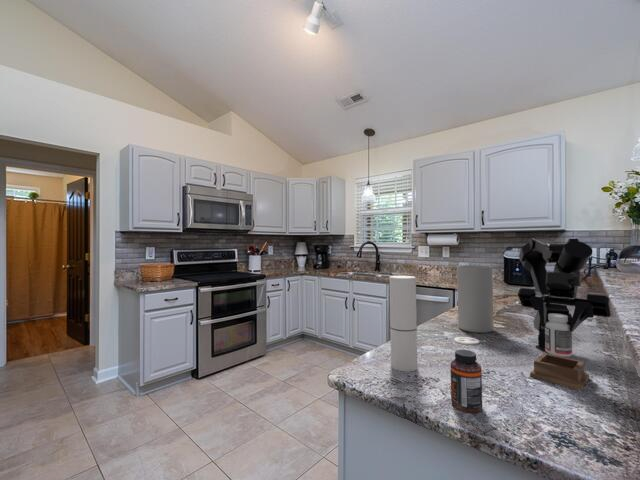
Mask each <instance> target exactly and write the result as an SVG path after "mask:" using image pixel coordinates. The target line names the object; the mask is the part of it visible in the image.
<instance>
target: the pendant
mask: <svg viewBox="0 0 640 480" xmlns="http://www.w3.org/2000/svg"><path fill="white" fill-rule="evenodd" d="M453 341H454V343H456V344H459V345H464V346H465V345H466V346H467V345H468V346H476V345H479V344H480V342H481V340H479V339H477V338H474V337H469V336H457V337H454V339H453ZM482 342H487V341H486V340H482Z"/></svg>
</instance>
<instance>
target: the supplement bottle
mask: <svg viewBox="0 0 640 480" xmlns="http://www.w3.org/2000/svg"><path fill="white" fill-rule="evenodd" d="M482 371H483V370H482V366H481V365H480V363H478V362H477V354H476V352H475V351H472V350H469V349H457V350H455V351H454V359H453V360H452V361H451V362H450V400H451V405H452V406H453V407H454V408H456V409H458V410H459V411H462V412H465V413H470V414H471V413H472V414H473V413H474V414H475V413H479V412H481V411H482V410H483V374H482V373H483V372H482Z"/></svg>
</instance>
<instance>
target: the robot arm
mask: <svg viewBox="0 0 640 480" xmlns="http://www.w3.org/2000/svg"><path fill="white" fill-rule="evenodd" d="M520 248H521V249H520V251H519V254H518V255H519V256H518V258H519V262H521V265H522V266H523V268H524V269H525V270H526V271H528V272H530V276H531V278H532V281H533V285H534V288H530V287H529V288H528V287H527V288H526V287H521V288H520V289H518V292H517V297H518V299H519V302H520V305H521V306H522V307H523V308H533V310H534V311H537V312H536V313H535V316H534V320H533V327H534V329H536V330H537V332H538V335H537V339H538V340H537V341H538V343H537V345H535V348H537V349H540V350H541V351H544V352H546V351H545V323H546V322H549V320H548V314H550V313H556V314H563V315H567V316H568V322H567V324H569V325H570V331H571V332H572V333H573V332H574V331H575V330H576V329H578V327H580V325H581V324H582V323H583V322H585V320H587V319H588V318H594V317H604V318H610V317H611V316H612V306H611V304H612V303H611V299H610V297H609V296H608V295H606V294H600V293H599V294H597V293H587V295H586V298H577V296H578V288H579V287H581V286H582V274H581V270H583V269H584V268H585V266H587V264H588V262H589V259H590V258H591V256H592V254H593V252H594V251H593V247H591V246H590V245H588V244H587V243H585V242H582V241H580V240H579V238H568V239H567V242H566V243H558V242H554V241H552V240H550V239H549V238H546V237H533V238H530V239H529V241H528V243H526V244H525V245H523V246H522V247H520ZM548 264H554V267H553V271H547V268H546V267H547V265H548ZM568 306H569V307H574V310H573V313H572V314H571V313H570V309H568Z"/></svg>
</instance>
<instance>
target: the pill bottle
mask: <svg viewBox="0 0 640 480" xmlns="http://www.w3.org/2000/svg"><path fill="white" fill-rule="evenodd" d="M548 320H549V322H546V323H545V351H544V352H545V353H546V354H550V355H555V356H560V357H564V358H569V357H571V356H572V355H573V342H572V341H573V332H571V331H570V325H569V324H567V322H568V316H567V315H563V314H556V313H550V314H548Z"/></svg>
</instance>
